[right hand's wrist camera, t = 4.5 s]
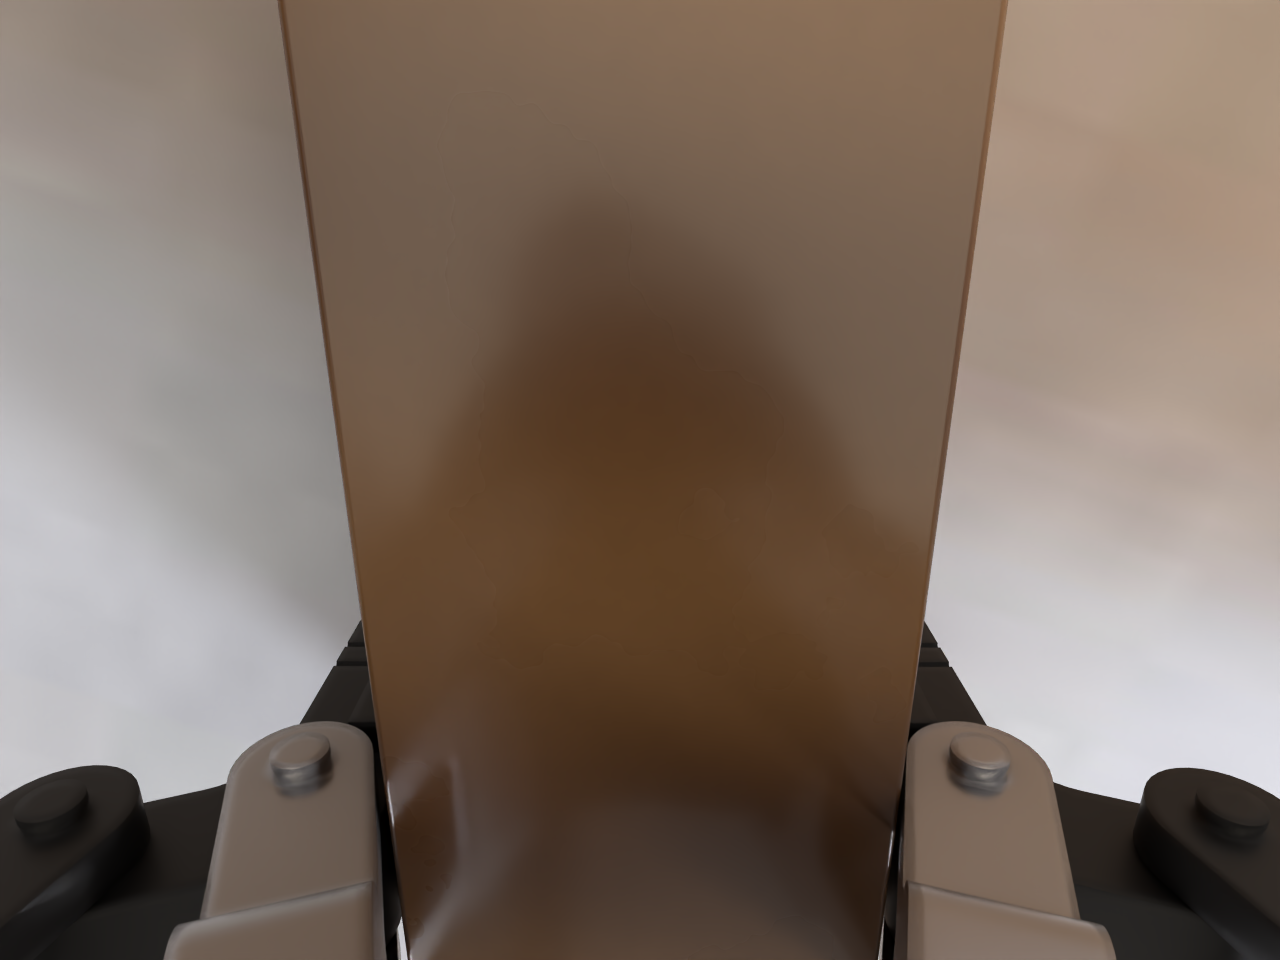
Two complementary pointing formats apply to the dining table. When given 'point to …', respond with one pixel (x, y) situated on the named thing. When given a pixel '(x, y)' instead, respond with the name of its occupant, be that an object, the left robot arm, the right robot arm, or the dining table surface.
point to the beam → (642, 445)
